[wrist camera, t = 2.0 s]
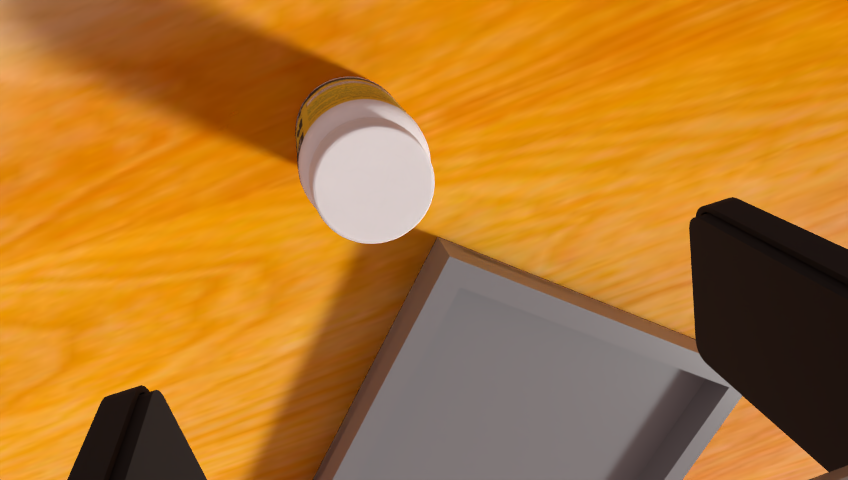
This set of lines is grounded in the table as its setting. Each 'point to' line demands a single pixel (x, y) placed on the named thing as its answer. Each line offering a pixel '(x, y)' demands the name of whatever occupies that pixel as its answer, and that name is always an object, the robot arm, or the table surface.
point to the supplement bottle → (363, 161)
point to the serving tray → (524, 386)
